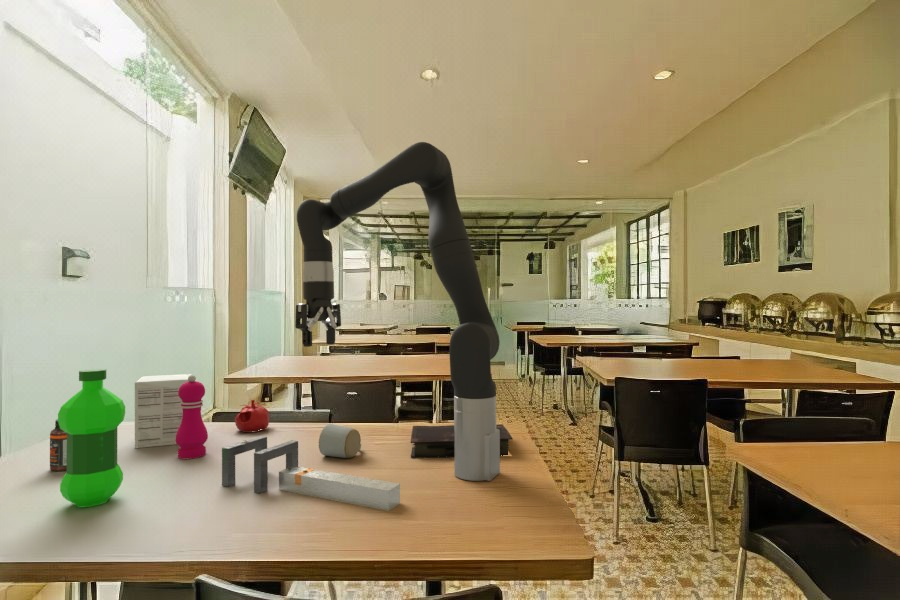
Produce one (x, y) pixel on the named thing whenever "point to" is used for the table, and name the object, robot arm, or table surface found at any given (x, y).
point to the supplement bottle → (58, 449)
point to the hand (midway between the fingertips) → (319, 345)
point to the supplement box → (158, 409)
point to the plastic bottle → (91, 441)
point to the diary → (444, 441)
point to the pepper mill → (191, 421)
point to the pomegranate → (252, 418)
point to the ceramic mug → (339, 441)
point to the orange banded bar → (340, 487)
